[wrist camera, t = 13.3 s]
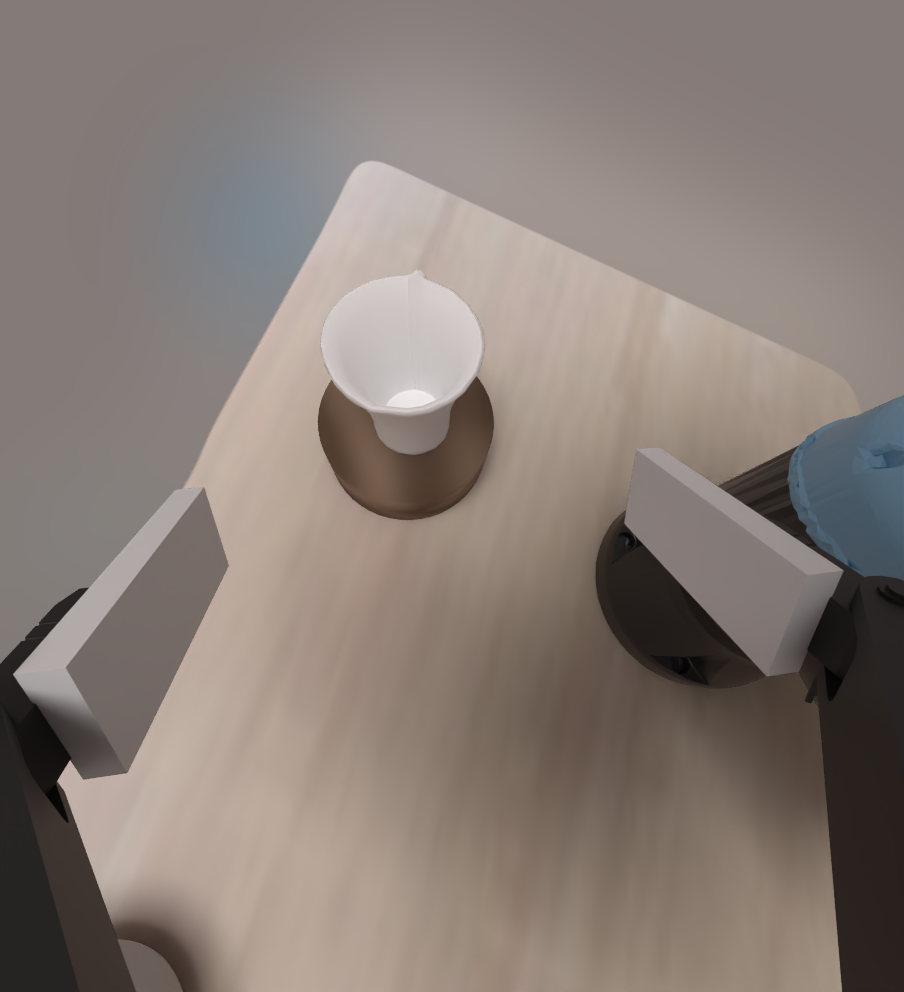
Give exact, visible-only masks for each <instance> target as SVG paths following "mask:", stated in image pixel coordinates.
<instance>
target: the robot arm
mask: <svg viewBox="0 0 904 992" xmlns="http://www.w3.org/2000/svg"><path fill="white" fill-rule="evenodd" d="M228 566H229V565H228V562H227V558H226V555H225V552H224V549H223V546H222V543H221V539H220V536H219V533H218V530H217V527H216V523H215V520H214V517H213V514H212V511H211V508H210V504H209V501H208V498H207V495H206V492H205V488H204V487H200V488H188V489H178V490H175V491H174V492H173V494H172V495H171V496H170V497H169V498H168V499H167V500H166V501H165V503H164V504H163V505H162V506H161V507H160V508H159V509H158V510H157V512H156V513H155V514H154V515H153V516H152V517H151V519H150V520H149V521H148V522H147V523H146V524H145V525H144V527H143V528H142V529H141V530H140V531H139V532H138V533H137V534H136V535H135V537H134V538H133V539H132V540H131V541H130V542H129V543H128V545H127V546H126V547H125V548H124V549H123V550H122V551H121V552H120V554H119V555H118V556H117V557H116V558H115V559H114V560H113V562H112V563H111V564H110V565H109V566H108V567H107V568H106V570H105V571H104V572H103V573H102V574H101V575H100V576H99V577H98V579H97V580H96V581H95V582H94V583H93V584H92V585H91V587H90V588H81V589H78V590H77V591H75V592H74V593H72V594H71V595H69V596H68V597H67V598H65V599H64V600H62V601H61V602H59V603H58V604H56V605H55V606H54V607H53V608H52V609H51V610H50V611H49V612H48V613H47V615H46V616H45V617H44V618H43V619H42V620H41V621H40V622H39V626H35V627H34V628H33V629H32V631H31V632H30V633H29V634H28V635H27V636H26V637H25V641H21V642H20V643H19V645H18V646H17V647H16V648H15V649H14V650H13V651H12V652H11V653H10V654H9V655H8V656H7V657H6V658H5V659H4V660H3V662H2V663H1V664H0V992H136V990H135V987H134V984H133V981H132V978H131V976H130V973H129V970H128V967H127V964H126V962H125V959H124V956H123V953H122V950H121V948H120V945H119V942H118V939H117V937H116V934H115V931H114V928H113V925H112V923H111V920H110V917H109V914H108V911H107V909H106V906H105V903H104V900H103V898H102V895H101V892H100V889H99V886H98V884H97V881H96V878H95V875H94V872H93V870H92V867H91V864H90V861H89V859H88V856H87V853H86V850H85V847H84V845H83V842H82V839H81V836H80V833H79V831H78V828H77V825H76V822H75V820H74V817H73V814H72V811H71V808H70V806H69V803H68V800H67V797H66V794H65V792H64V790H63V789H62V788H61V786H60V785H59V783H58V782H57V780H58V779H59V777H60V775H61V774H62V772H63V770H64V769H65V767H66V766H67V764H68V762H69V761H70V760H71V762H72V763H73V765H74V766H75V768H76V769H77V771H78V772H79V774H80V775H81V777H82V778H83V780H84V779H90V778H97V777H103V776H110V775H117V774H123V773H127V772H128V770H129V768H130V766H131V764H132V762H133V760H134V758H135V756H136V754H137V752H138V750H139V748H140V746H141V744H142V742H143V740H144V738H145V736H146V734H147V732H148V730H149V728H150V725H151V723H152V721H153V719H154V717H155V715H156V713H157V711H158V709H159V707H160V705H161V703H162V701H163V699H164V697H165V695H166V693H167V691H168V689H169V687H170V685H171V683H172V681H173V679H174V676H175V674H176V672H177V670H178V668H179V666H180V664H181V662H182V660H183V658H184V656H185V654H186V652H187V650H188V648H189V646H190V644H191V642H192V640H193V638H194V636H195V634H196V632H197V629H198V627H199V625H200V623H201V621H202V619H203V617H204V615H205V613H206V611H207V609H208V607H209V605H210V603H211V601H212V599H213V597H214V595H215V593H216V591H217V589H218V587H219V585H220V582H221V580H222V578H223V576H224V574H225V572H226V570H227V568H228ZM596 583H597V591H598V596H599V600H600V604H601V607H602V610H603V613H604V615H605V618H606V620H607V622H608V624H609V626H610V628H611V629H612V631H613V633H614V634H615V636H616V637H617V639H618V640H619V641H620V643H621V644H622V645H623V646H624V648H625V649H626V650H627V651H628V652H629V653H630V654H631V655H632V656H633V657H634V658H635V659H636V660H638V661H639V662H640V663H641V664H643V665H644V666H645V667H647V668H648V669H650V670H651V671H653V672H655V673H657V674H659V675H660V676H662V677H665V678H667V679H670V680H672V681H675V682H679V683H683V684H688V685H694V686H700V687H707V688H729V687H736V686H741V685H745V684H748V683H751V682H753V681H755V680H758V679H760V678H762V677H765V676H767V677H769V676H775V675H782V674H789V673H795V672H798V673H799V674H800V676H801V678H802V680H803V681H804V683H805V685H806V687H807V688H808V690H809V691H808V693H807V696H806V699H805V701H806V702H808V703H812V701H813V699H814V701H815V703H816V704H817V706H818V708H819V715H820V727H821V739H822V751H823V764H824V776H825V788H826V800H827V812H828V824H829V837H830V849H831V861H832V873H833V885H834V897H835V910H836V922H837V934H838V946H839V958H840V970H841V983H842V992H904V396H901V397H899V398H896V399H893V400H891V401H889V402H887V403H885V404H882V405H880V406H878V407H875V408H873V409H871V410H869V411H866V412H864V413H862V414H860V415H857V416H854V417H850V418H846V419H842V420H838V421H835V422H832V423H830V424H828V425H826V426H824V427H822V428H820V429H818V430H817V431H815V432H814V433H812V434H810V435H809V436H808V437H807V438H806V440H805V441H804V442H802V443H801V444H800V445H799V446H797V447H795V448H793V449H791V450H789V451H787V452H785V453H783V454H781V455H779V456H777V457H775V458H773V459H771V460H769V461H767V462H765V463H763V464H761V465H759V466H757V467H755V468H753V469H751V470H749V471H747V472H745V473H743V474H741V475H739V476H737V477H735V478H733V479H731V480H729V481H726V482H724V483H722V484H721V485H719V486H716V485H715V484H713V483H712V482H710V481H709V480H707V479H706V478H704V477H703V476H701V475H700V474H698V473H697V472H695V471H694V470H692V469H691V468H689V467H688V466H686V465H685V464H683V463H682V462H680V461H679V460H677V459H676V458H674V457H673V456H671V455H670V454H668V453H667V452H665V451H664V450H662V449H661V448H659V447H656V448H645V449H636V454H635V460H634V467H633V473H632V479H631V485H630V491H629V497H628V503H627V510H626V511H624V512H623V513H622V514H621V515H620V516H619V517H618V518H617V519H616V520H615V521H614V522H613V524H612V525H611V526H610V528H609V530H608V531H607V533H606V535H605V537H604V539H603V541H602V544H601V547H600V550H599V554H598V559H597V566H596Z"/></svg>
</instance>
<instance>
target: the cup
mask: <svg viewBox="0 0 904 992" xmlns="http://www.w3.org/2000/svg"><path fill="white" fill-rule="evenodd" d="M320 347H321V352H322V357H323V361H324V365H325V368H326V370H327V371H328V373H329V375H330V377H331V379H332V381H333V383H334V385H335V386H336V387H337V388H338V389H339V390H340V391H341V392H342V393H343V394H344V395H345V396H346V397H347V398H348V399H349V400H350V401H351V402H353V403H354V404H355V405H357V406H359V407H361V408H364V409H366V410H367V412H369V413H370V415H371V417H372V419H373V421H374V426H375V429H376V431H377V434H378V437H379V439H380V440H381V441H382V442H383V443H384V444H385V445H386V446H387V447H388V448H390V449H392V450H394V451H396V452H397V453H402V454H407V455H418V454H423V453H426V452H428V451H430V450H433V449H435V448H436V447H437V446H438V445H439V444H440V443H441V442H442V441H443V440H444V439H445V438H446V435H447V432H448V429H449V421H450V411H451V407H452V405H453V403H454V401H455V400H456V399H457V398H458V397H460V396H461V395H462V394H463V393H464V392H465V391H466V390H467V388H468V387H469V386H470V384H471V383H472V381H473V380H474V379H475V377H476V376H477V374H478V372H479V370H480V367H481V364H482V360H483V357H484V349H485V341H484V335H483V330H482V327H481V325H480V322H479V320H478V318H477V317H476V315H475V314H474V312H473V310H472V309H471V307H470V306H469V305H468V304H467V303H466V302H465V301H464V300H463V299H462V298H461V297H460V296H458V295H457V294H456V293H455V292H454V291H453V290H451V289H449V288H446V287H444V286H442V285H440V284H438V283H435V282H433V281H431V280H429V279H428V278H426V277H425V276H424V274H423V273H422V272H421V270H414V271H413V272H412V273H411V274H410V275H405V276H394V277H387V278H382V279H378V280H374V281H370V282H368V283H366V284H364V285H362V286H360V287H358V288H357V289H355V290H353V291H351V292H349V293H348V294H346V295H345V296H344V297H343V298H342V299H341V300H340V301H339V302H337V304H336V305H335V306H334V308H333V309H332V310H331V312H330V313H329V315H328V317H327V319H326V321H325V322H324V326H323V330H322V334H321V344H320Z"/></svg>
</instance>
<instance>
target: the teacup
mask: <svg viewBox="0 0 904 992" xmlns="http://www.w3.org/2000/svg"><path fill="white" fill-rule="evenodd" d="M118 942H119V945H120V948H121V950H122V953H123V956H124V959H125V962H126V964H127V967H128V970H129V973H130V976H131V978H132V981H133V984H134V987H135V990H136V992H183V991H182V988H181V985H180V983H179V981H178V979H177V976H176V974H175V973H174V971H173V970H172V968H171V967H170V965H169V964H168V962H167V961H166V960H165V959H164V958H163V957H162V956H161V955H160V954H158V953H157V952H156V951H154V950H153V949H151V948H150V947H148V946H146V945H143V944H141V943H138V942H135V941H131V940H122V939H118Z"/></svg>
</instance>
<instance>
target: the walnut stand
mask: <svg viewBox="0 0 904 992" xmlns="http://www.w3.org/2000/svg"><path fill="white" fill-rule="evenodd" d="M493 428H494V420H493V411H492V406H491V403H490V399H489V397H488V394H487V392H486V390H485V388H484V386H483V385H482V383H481V382H480V380H479V379H478V378H477V376H476V377H475V379H474V380H473V381H472V383H471V384H470V386H469V387H468V388H467V390H466V391H465V392H464V393H463V394H462V395H461V396H460V397H458V398H457V399H456V400H455V401H454V403H453V405H452V407H451V411H450V421H449V429H448V432H447V435H446V438H445V439H444V440H443V441H442V442H441V443H440V444H439V445H438V446H437V447H436V448H435V449H433V450H430V451H428V452H426V453H423V454H418V455H407V454H402V453H397V452H396V451H394V450H392V449H390V448H388V447H387V446H386V445H385V444H384V443H383V442H382V441H381V440H380V439H379V437H378V434H377V431H376V429H375V426H374V421H373V419H372V417H371V415H370V413H369V412H367V410H366V409H364V408H361V407H359V406H357V405H355V404H354V403H353V402H351V401H350V400H349V399H348V398H347V397H346V396H345V395H344V394H343V393H342V392H341V391H340V390H339V389H338V388H337V387H336V386H335V385H334V383H333V381H332V380H331V382H330V383H329V385H328V387H327V388H326V390H325V393H324V395H323V397H322V400H321V404H320V408H319V415H318V431H319V436H320V441H321V444H322V447H323V450H324V452H325V454H326V456H327V458H328V460H329V462H330V464H331V467H332V469H333V471H334V473H335V475H336V477H337V479H338V480H339V482H340V484H341V486H342V487H343V488H344V490H345V491H346V492H347V493H348V494H349V495H350V497H351V498H352V499H353V500H355V501H356V502H357V503H358V504H360V505H361V506H363V507H364V508H366V509H368V510H369V511H371V512H374V513H376V514H378V515H381V516H385V517H388V518H394V519H400V520H413V519H422V518H426V517H431V516H434V515H436V514H439V513H442V512H444V511H445V510H447V509H449V508H451V507H452V506H454V505H455V504H457V503H458V502H459V501H460V500H461V499H462V498H463V497H465V496H466V494H467V493H468V492H469V491H470V490H471V488H472V487H473V485H474V484H475V482H476V480H477V478H478V476H479V474H480V471H481V469H482V466H483V464H484V461H485V458H486V456H487V453H488V450H489V448H490V444H491V441H492V436H493Z"/></svg>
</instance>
